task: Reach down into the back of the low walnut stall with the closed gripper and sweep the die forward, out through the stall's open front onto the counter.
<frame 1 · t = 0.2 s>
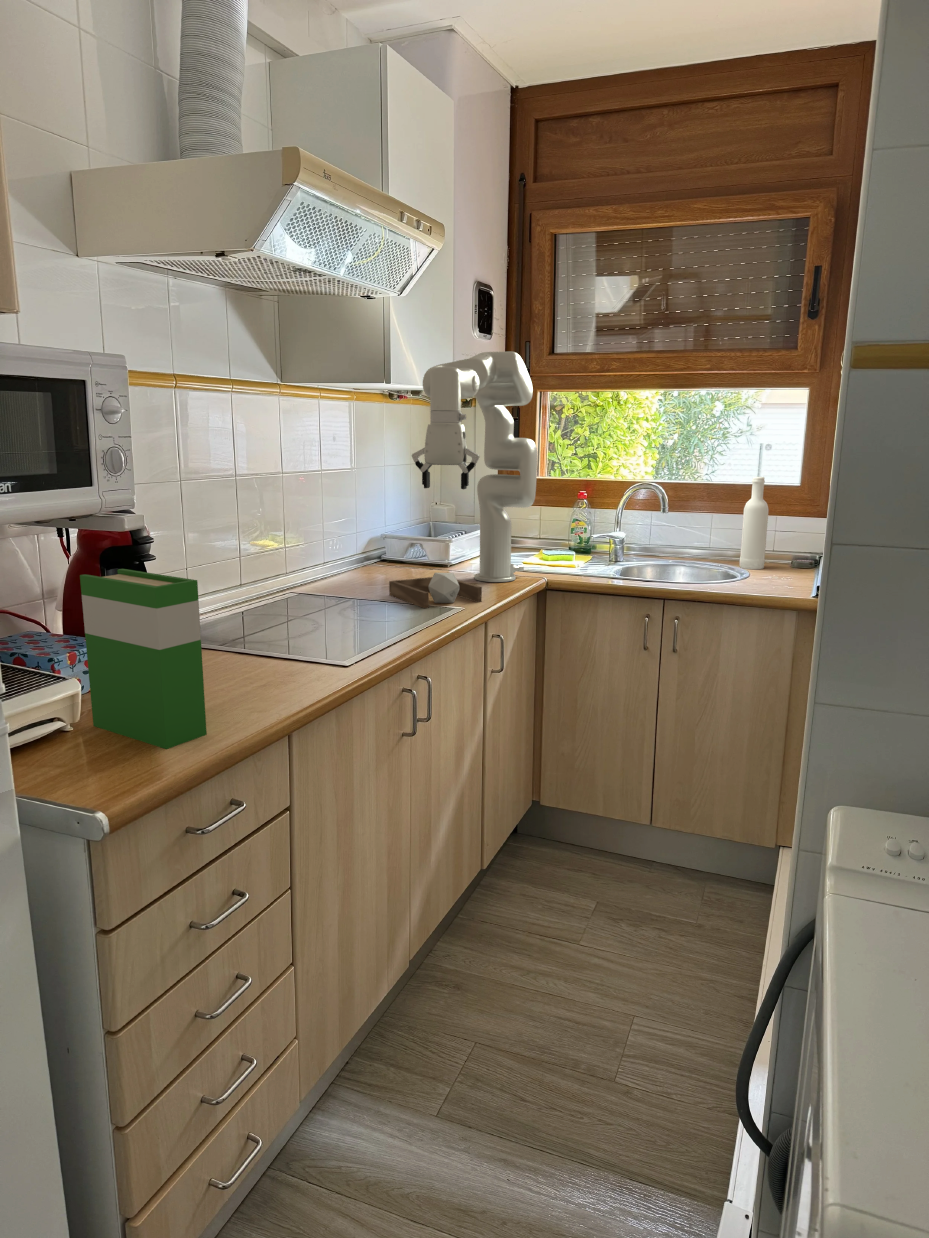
hand: (445, 488, 221), 31 cm above the worktop, tool pointing down, fingers open, 9 cm apart
die: (444, 602, 235), on the worktop
stall: (434, 598, 239), on the worktop
hardback book: (149, 731, 136), on the worktop
bottle: (751, 568, 294), on the worktop
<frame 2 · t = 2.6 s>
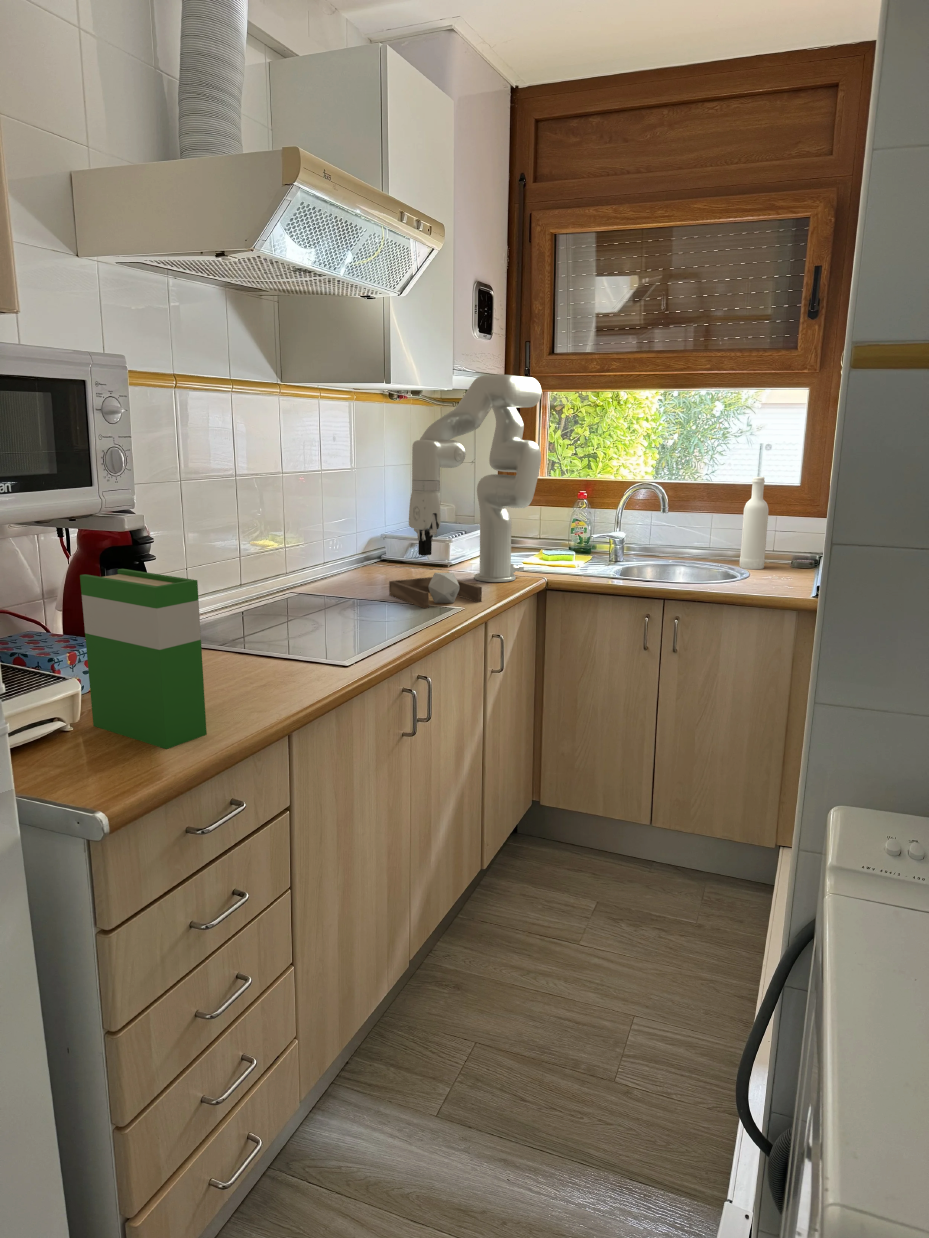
hand: (424, 554, 239), 11 cm above the worktop, tool pointing down, fingers closed
nothing on the worktop moved.
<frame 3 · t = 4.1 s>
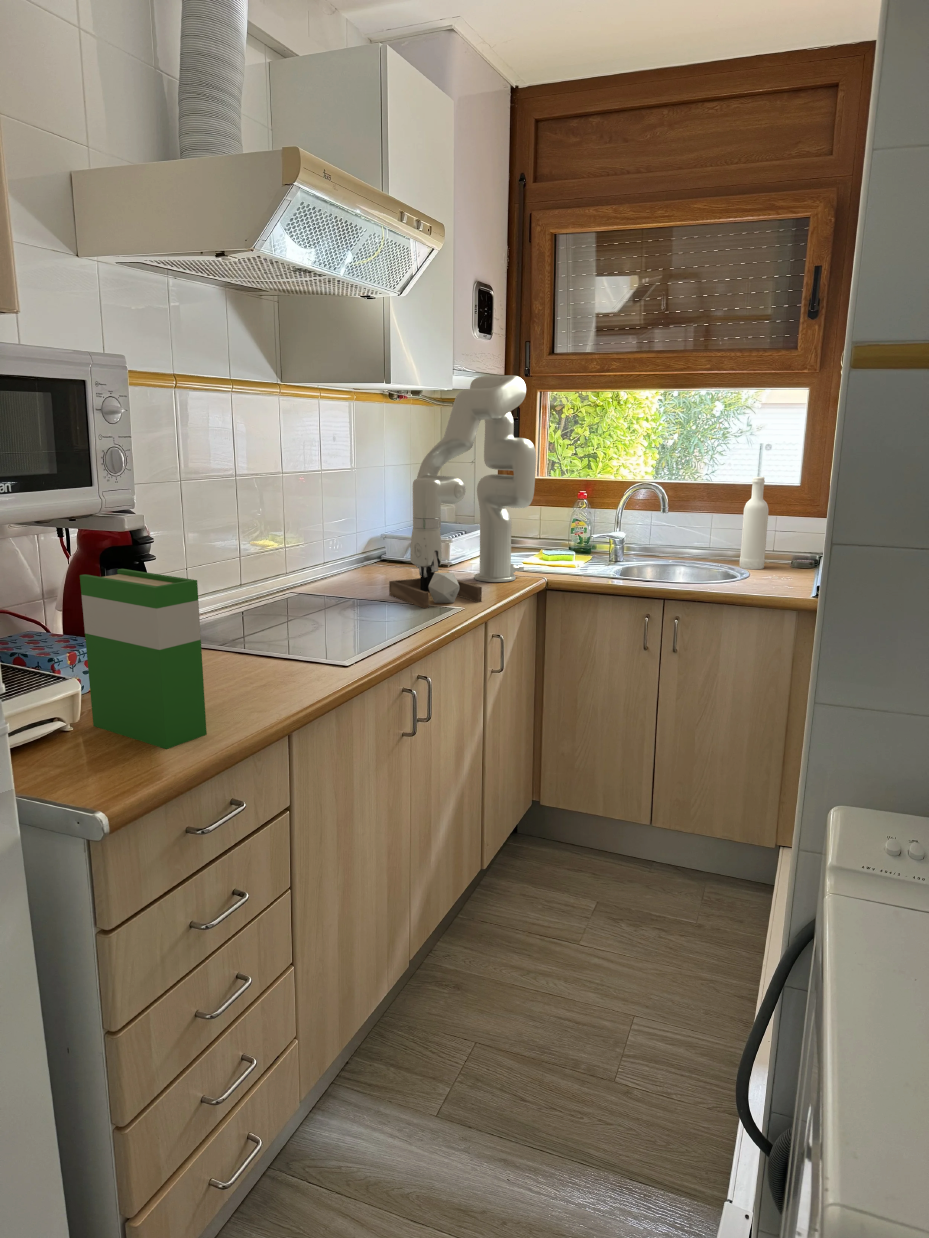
hand: (426, 590, 242), 2 cm above the worktop, tool pointing down, fingers closed
nothing on the worktop moved.
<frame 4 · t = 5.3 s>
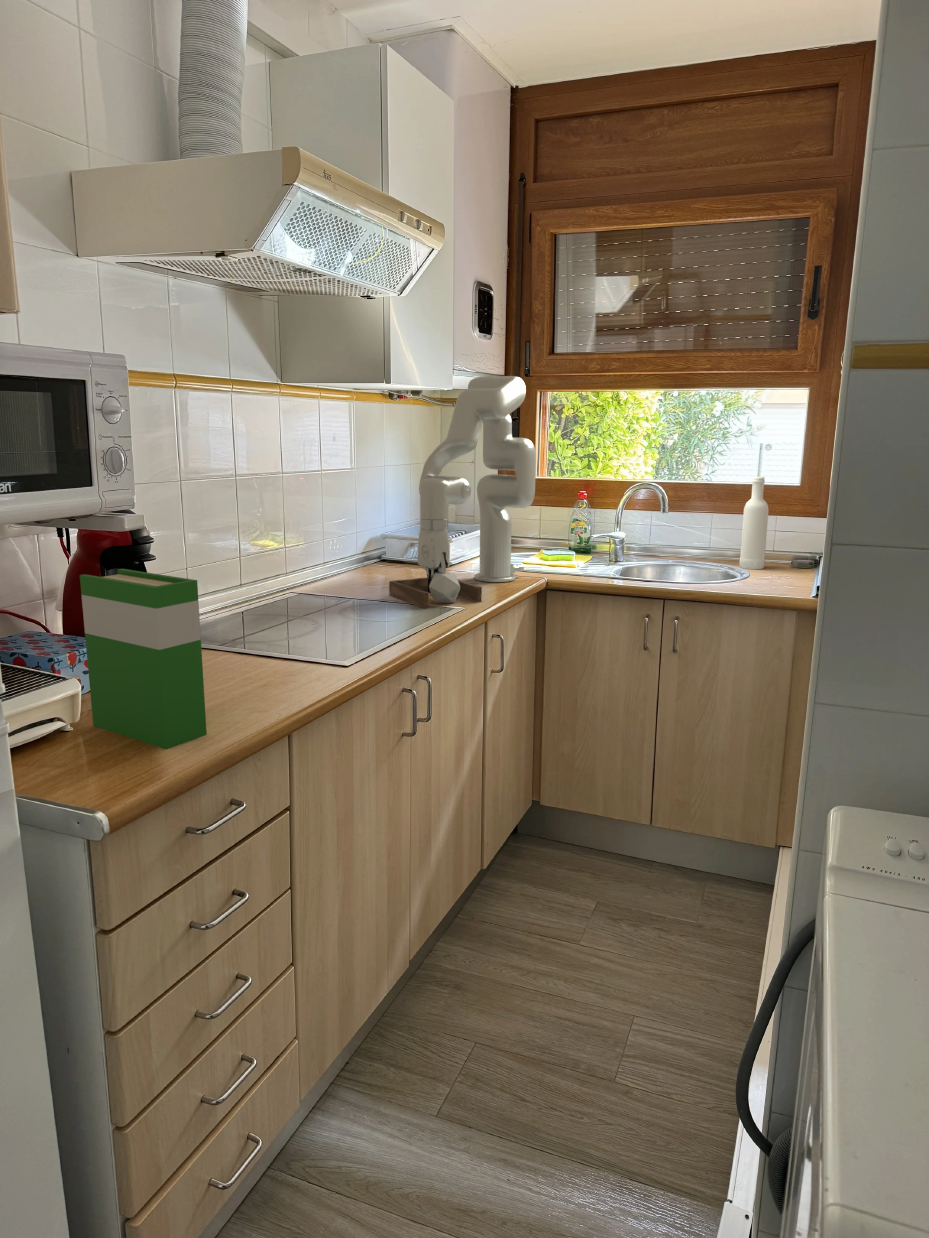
hand: (434, 592, 238), 2 cm above the worktop, tool pointing down, fingers closed
die: (444, 602, 234), on the worktop, touching gripper
everything else where it was.
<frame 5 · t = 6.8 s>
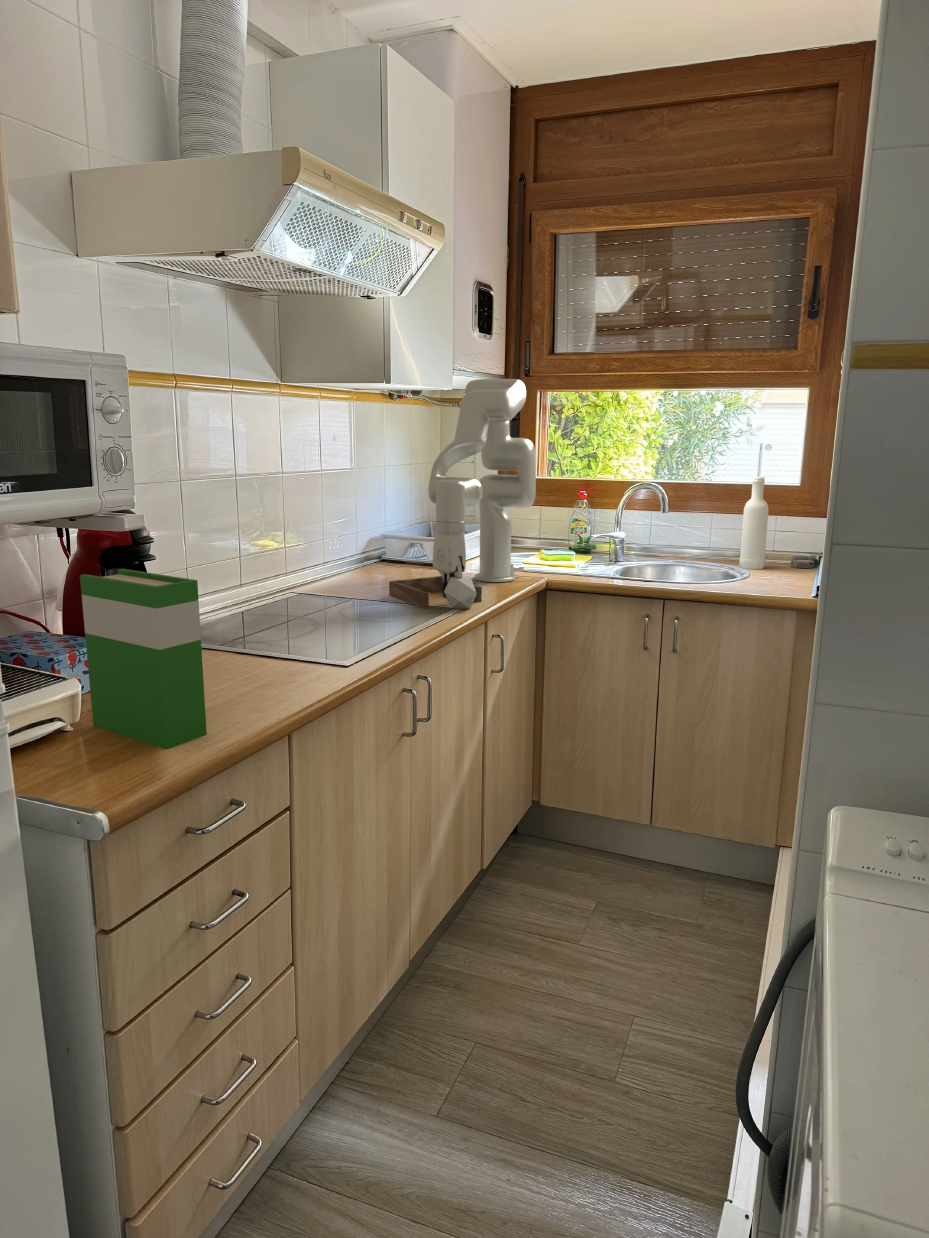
hand: (449, 597, 231), 2 cm above the worktop, tool pointing down, fingers closed
die: (460, 607, 227), on the worktop, touching gripper
everything else where it was.
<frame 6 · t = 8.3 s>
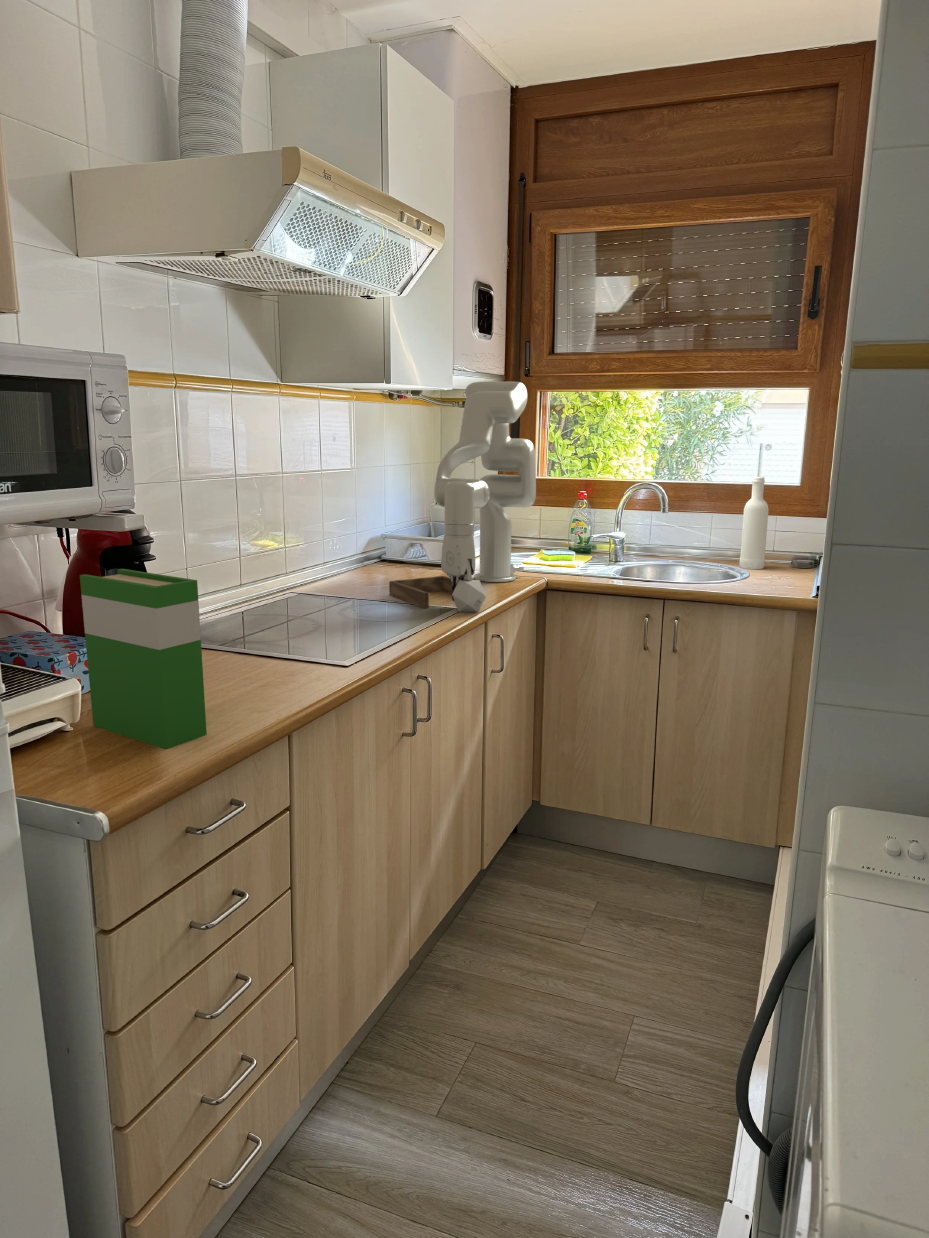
hand: (458, 600, 228), 2 cm above the worktop, tool pointing down, fingers closed
die: (468, 611, 224), on the worktop, touching gripper
everything else where it was.
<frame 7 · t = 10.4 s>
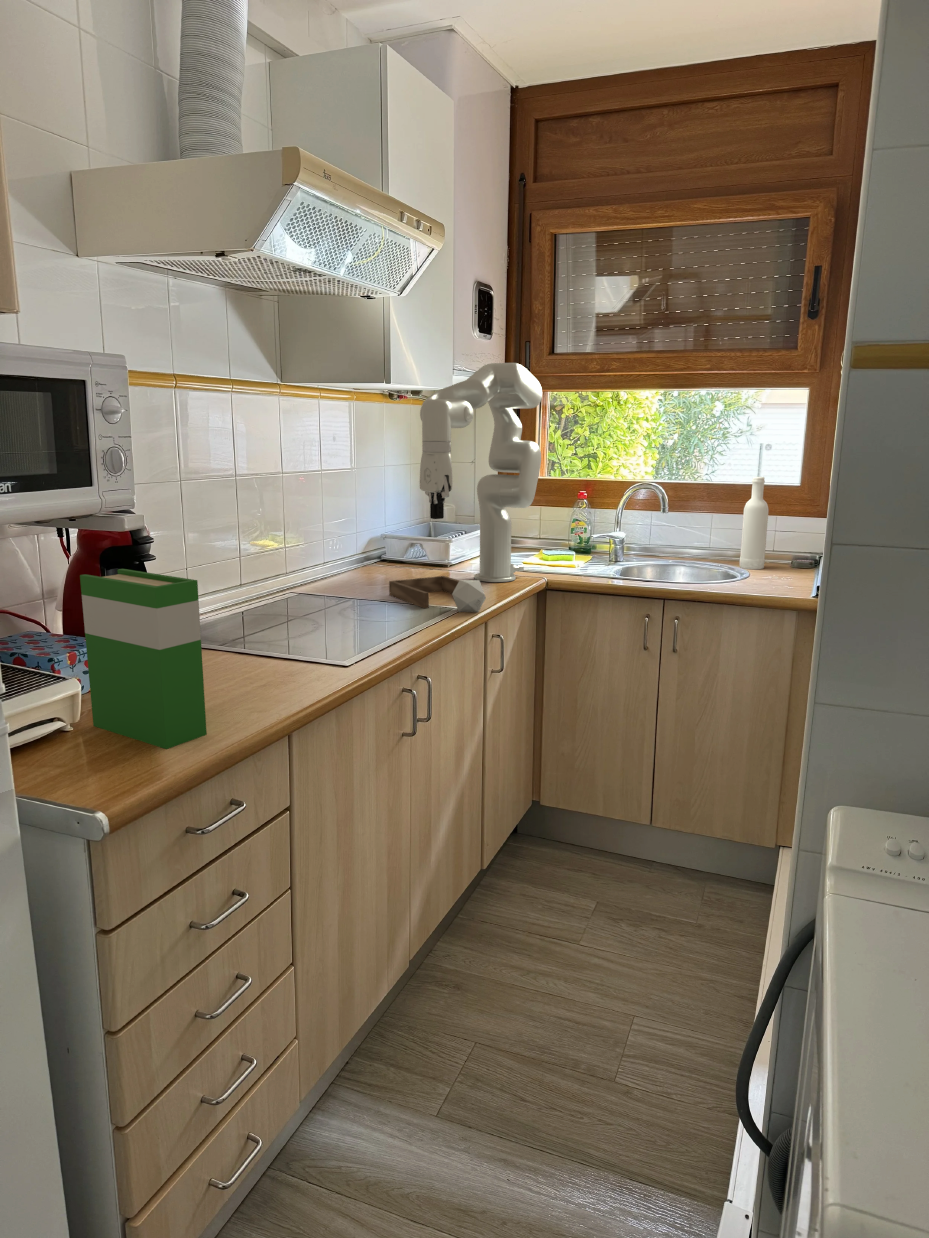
hand: (436, 518, 233), 22 cm above the worktop, tool pointing down, fingers closed
die: (468, 611, 224), on the worktop
everything else where it was.
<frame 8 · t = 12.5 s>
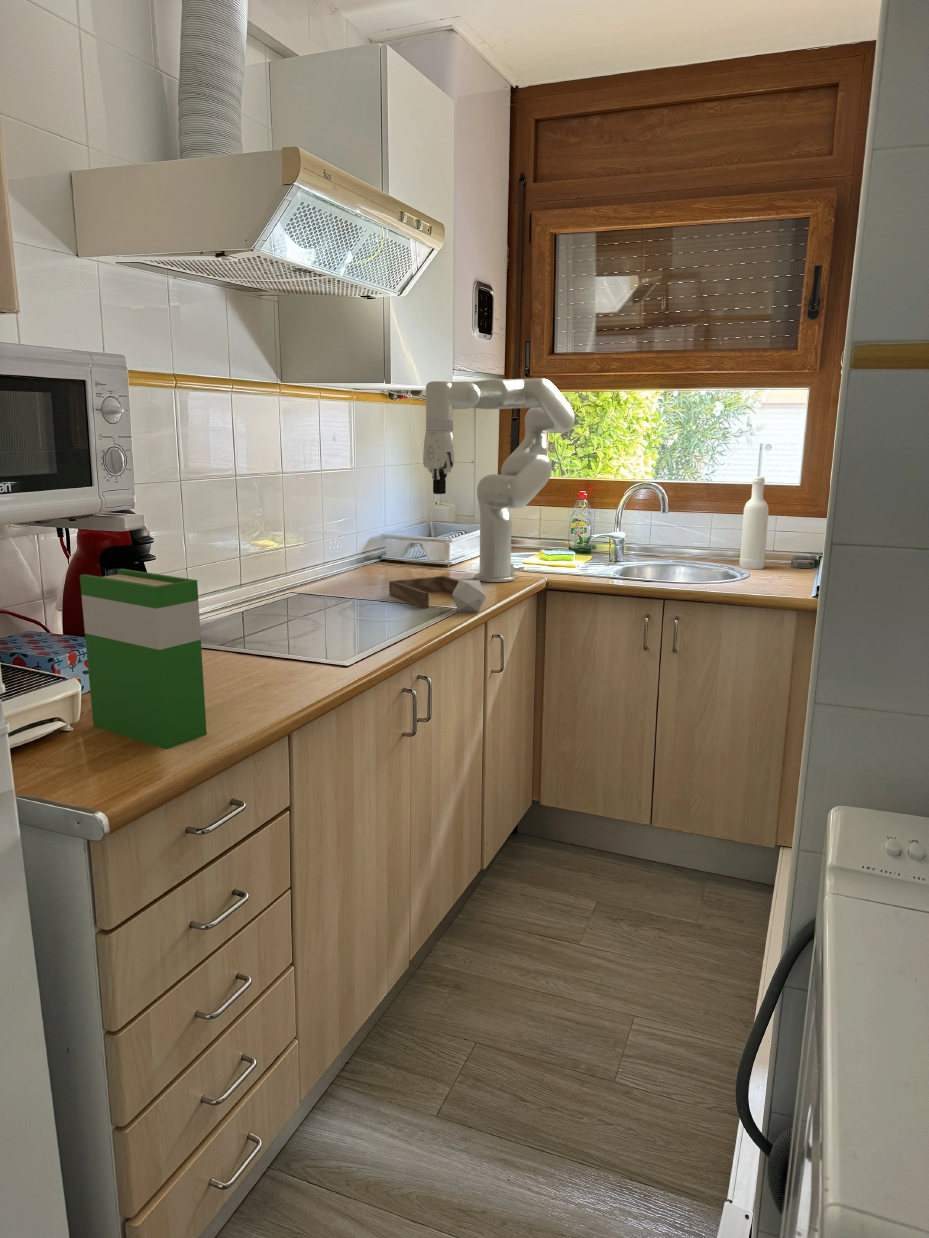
hand: (439, 493, 248), 27 cm above the worktop, tool pointing down, fingers closed
nothing on the worktop moved.
at the end: die inside the target area (2.0 cm from its centre), on the worktop; die tilted 0°; die touching worktop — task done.
